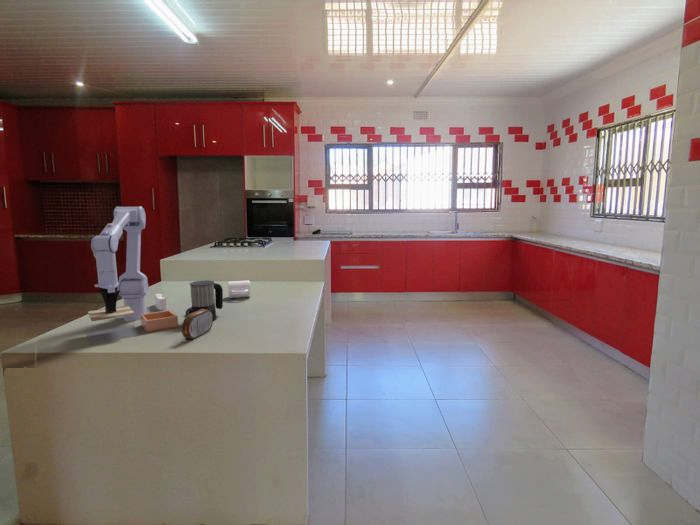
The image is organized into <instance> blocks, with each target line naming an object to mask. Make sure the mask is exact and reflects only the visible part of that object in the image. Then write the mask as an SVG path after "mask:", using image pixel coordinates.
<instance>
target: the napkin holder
mask: <svg viewBox="0 0 700 525" xmlns="http://www.w3.org/2000/svg"><path fill="white" fill-rule="evenodd" d="M166 300H167V298H166V297H164V295H163V294H161V293H155V294H154V304H155V308H156V309H157V310H160V311H167V301H166Z"/></svg>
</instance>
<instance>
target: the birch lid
mask: <svg viewBox="0 0 700 525" xmlns="http://www.w3.org/2000/svg"><path fill="white" fill-rule="evenodd" d="M87 314H88V316H89V318H90V320H91V322H96V321H97V322H98V321H103V320H104V321H105V320H110V319H111V320H112V319H116V318H117V319H118V318H123V317H124V316H131V315H135V313H134V312H133V310H132V309H131V308H130V307H129V306H124V305H122V306H116V309H115V311H109V312H108V310H107V307H106V303H104V308H103V309H95V310H93V309H92V310H88V311H87Z"/></svg>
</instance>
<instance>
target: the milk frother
mask: <svg viewBox="0 0 700 525" xmlns="http://www.w3.org/2000/svg"><path fill="white" fill-rule="evenodd" d="M189 286H190V295H191V296H190V297H191V307H189V308H187V309H186V310H185V311H184V312H185V316H187V315H189V314H191V313H193V312H196V311H198V310H201V309H206V310H210V311H211V312H212V313H213V321H215V320H217V319H218V317H217V312H216V309H218V310H222V309H223V306H224V305H223V303H224V300H223V299H224V298H223V297H224V296H223V294H224V293H223V291H224V290H223V287H222V285H221V284H219V283H217V282H216V283H215V281H214V280H196V281H193V282H190V283H189Z"/></svg>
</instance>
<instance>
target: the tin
mask: <svg viewBox="0 0 700 525" xmlns="http://www.w3.org/2000/svg"><path fill="white" fill-rule="evenodd" d="M182 321H183V322H182V326H181V333H182V336H183V338H185V339H191V340H194V339H197V338H199V337H201V336H203V335H205V334H206V333H208V332H209V331H210V330H211V329H212V327H213V323H214V322H213V321H214V320H213V313H212V312H211V311H210V310H206V309H201V310H198V311H196V312H193V313H191V314H189V315H185V318H184V320H182Z"/></svg>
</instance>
